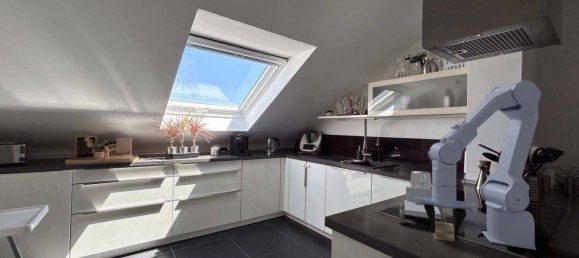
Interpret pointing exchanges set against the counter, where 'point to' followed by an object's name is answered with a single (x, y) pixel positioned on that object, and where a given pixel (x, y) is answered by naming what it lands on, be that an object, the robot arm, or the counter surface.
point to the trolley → (418, 210)
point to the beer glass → (420, 179)
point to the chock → (444, 231)
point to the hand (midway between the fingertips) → (443, 233)
